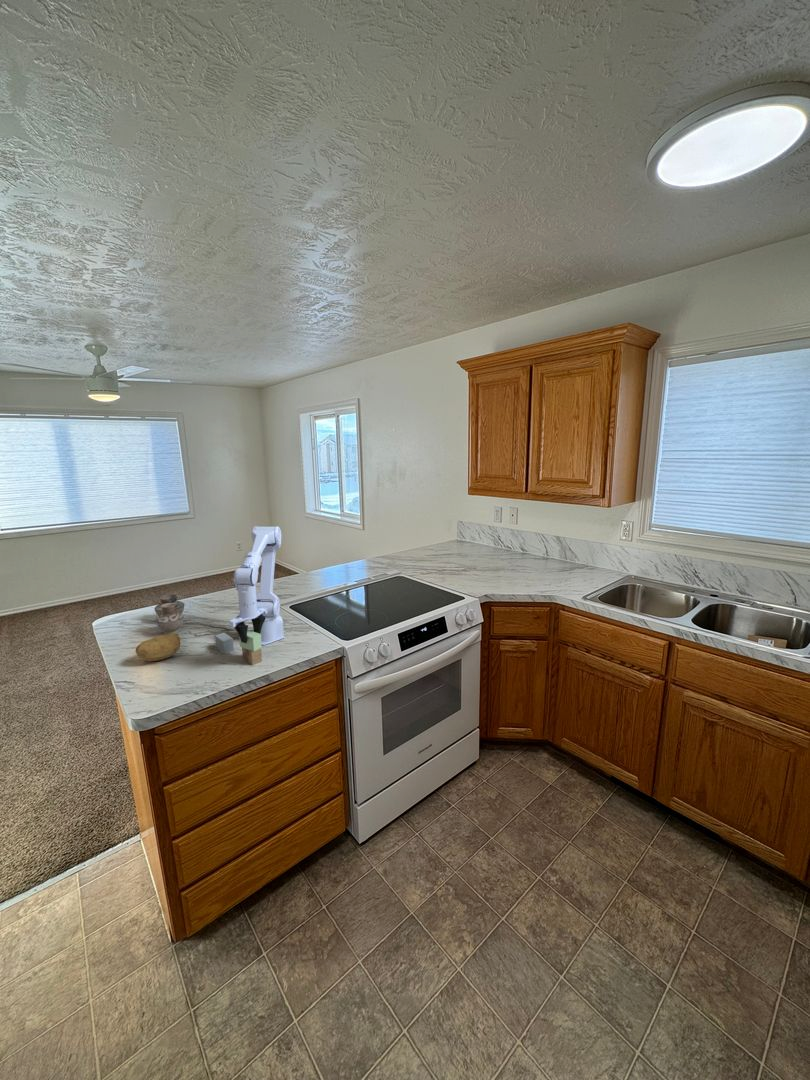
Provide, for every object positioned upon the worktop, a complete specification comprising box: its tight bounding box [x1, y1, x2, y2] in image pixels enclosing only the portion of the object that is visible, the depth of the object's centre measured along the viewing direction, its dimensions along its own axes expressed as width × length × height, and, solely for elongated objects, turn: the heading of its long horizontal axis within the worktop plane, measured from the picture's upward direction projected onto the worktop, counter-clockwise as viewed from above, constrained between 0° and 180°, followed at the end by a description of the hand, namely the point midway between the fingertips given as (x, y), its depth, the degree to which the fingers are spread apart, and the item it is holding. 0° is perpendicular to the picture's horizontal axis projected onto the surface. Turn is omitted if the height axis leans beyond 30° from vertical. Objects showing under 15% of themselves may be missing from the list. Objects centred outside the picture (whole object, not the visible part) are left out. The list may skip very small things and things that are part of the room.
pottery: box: [153, 593, 185, 635], centre depth 179 cm, size 11×25×12 cm, turn 29°
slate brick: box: [214, 632, 235, 654], centre depth 160 cm, size 7×4×5 cm, turn 47°
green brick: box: [238, 629, 263, 651], centre depth 151 cm, size 7×4×5 cm, turn 60°
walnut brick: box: [241, 647, 263, 666], centre depth 152 cm, size 7×4×5 cm, turn 47°
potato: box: [135, 633, 181, 662], centre depth 152 cm, size 10×14×8 cm
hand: (250, 639), depth 151 cm, fingers open, 5 cm apart
